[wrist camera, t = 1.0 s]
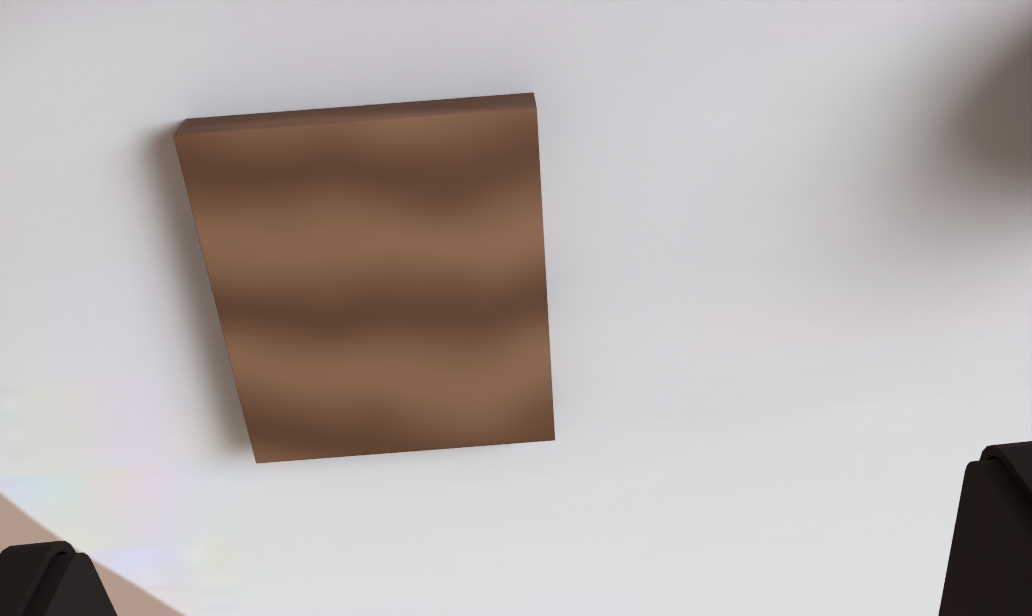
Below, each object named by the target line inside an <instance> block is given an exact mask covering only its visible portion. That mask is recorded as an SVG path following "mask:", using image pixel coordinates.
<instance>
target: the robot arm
mask: <svg viewBox="0 0 1032 616" xmlns="http://www.w3.org/2000/svg"><path fill="white" fill-rule="evenodd" d="M0 616H117V614H116V612H115V610H114V608H113V605H112V604H111V601H110V599H109V597H108V595H107V593H106V591H105V588H104V586H103V584H102V582H101V580H100V578H99V576H98V573H97V571H96V569H95V567H94V565H93V563H92V561H91V559H90V558H89V556H88V555H87V554H85V553H76V552H75V550H74V548H73V547H72V545H71V544H69V543H68V542H66V541H54V542H44V543H35V544H25V545H16V546H9V547H8V548H6V549H4V550H3V551H2V552H1V553H0ZM939 616H1032V441H1028V442H1019V443H1009V444H999V445H991V446H987V447H986V448H985V449H984V450H983V451H982V454H981V457H980V461H972V462H970V463H969V464H968V465H967V467H966V470H965V474H964V480H963V485H962V491H961V496H960V501H959V507H958V512H957V518H956V523H955V529H954V534H953V540H952V545H951V550H950V556H949V561H948V567H947V572H946V578H945V583H944V589H943V594H942V599H941V605H940V610H939Z"/></svg>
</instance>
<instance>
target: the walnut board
mask: <svg viewBox="0 0 1032 616" xmlns="http://www.w3.org/2000/svg"><path fill="white" fill-rule="evenodd" d="M173 137H174V141H175V145H176V149H177V153H178V156H179V160H180V164H181V168H182V172H183V176H184V180H185V184H186V188H187V192H188V196H189V200H190V204H191V208H192V212H193V216H194V220H195V224H196V228H197V231H198V235H199V239H200V243H201V247H202V251H203V255H204V259H205V263H206V267H207V271H208V275H209V279H210V283H211V287H212V291H213V295H214V299H215V302H216V306H217V310H218V314H219V318H220V322H221V326H222V330H223V334H224V338H225V342H226V346H227V350H228V354H229V358H230V362H231V366H232V370H233V374H234V377H235V381H236V385H237V389H238V393H239V397H240V401H241V405H242V409H243V413H244V417H245V421H246V425H247V429H248V433H249V437H250V441H251V445H252V448H253V452H254V456H255V460H256V463H267V462H280V461H293V460H306V459H319V458H332V457H345V456H358V455H371V454H383V453H396V452H409V451H422V450H435V449H448V448H461V447H474V446H487V445H500V444H512V443H525V442H538V441H551V440H555V432H554V414H553V396H552V378H551V359H550V341H549V323H548V305H547V287H546V269H545V251H544V233H543V215H542V197H541V179H540V161H539V142H538V124H537V107H536V102H535V97H534V93H523V94H510V95H496V96H483V97H470V98H457V99H444V100H430V101H417V102H404V103H391V104H378V105H364V106H351V107H338V108H325V109H312V110H299V111H285V112H272V113H259V114H246V115H233V116H219V117H206V118H193V119H186V120H185V122H184V123H183V124H182V125H181V127H180V128H179V129H178V130H177V131H176V133H175V134H174V135H173Z"/></svg>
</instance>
